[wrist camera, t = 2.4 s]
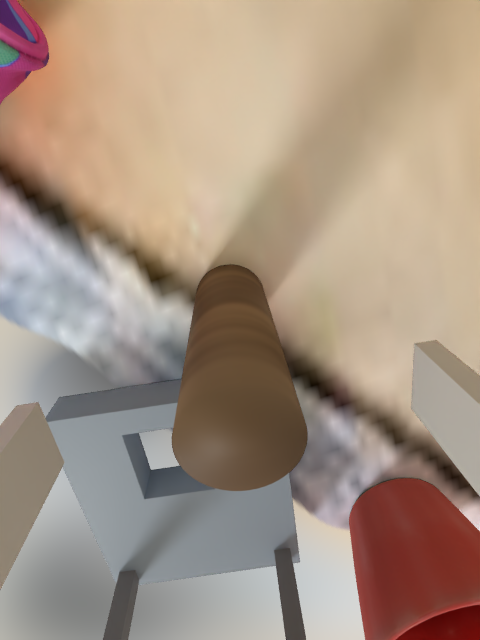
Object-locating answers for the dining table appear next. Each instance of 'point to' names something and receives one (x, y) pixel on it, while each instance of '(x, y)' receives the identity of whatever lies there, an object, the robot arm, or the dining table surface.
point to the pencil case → (19, 46)
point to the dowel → (236, 389)
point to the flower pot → (415, 564)
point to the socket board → (166, 504)
